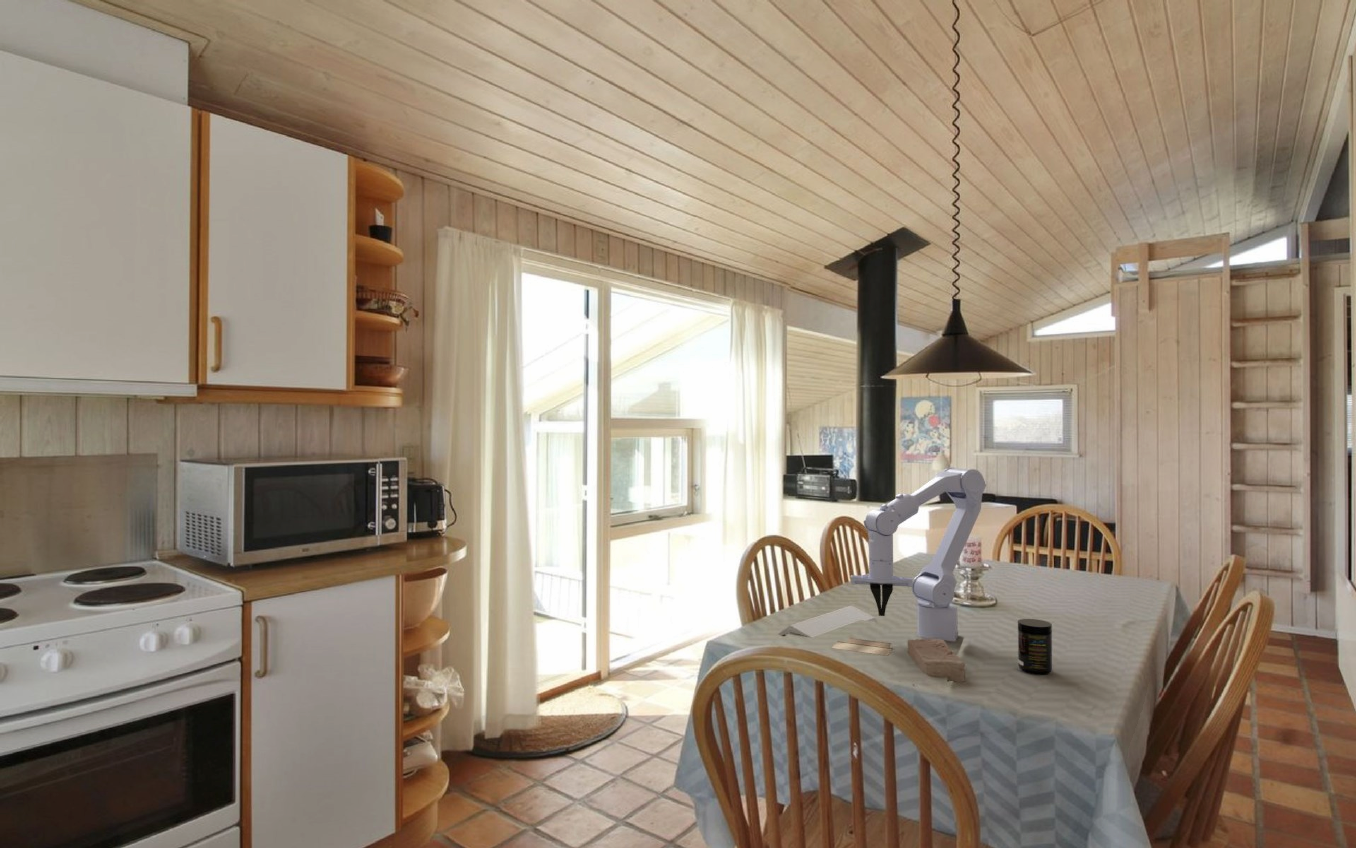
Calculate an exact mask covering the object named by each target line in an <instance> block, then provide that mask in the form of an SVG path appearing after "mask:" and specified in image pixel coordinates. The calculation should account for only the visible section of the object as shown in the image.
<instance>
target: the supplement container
mask: <svg viewBox="0 0 1356 848" xmlns="http://www.w3.org/2000/svg"><path fill="white" fill-rule="evenodd" d="M1017 649H1018V650H1017V657H1018V658H1017V664H1018V668H1019V669H1020V670H1021V671H1022V672H1024V673H1027V674H1031V675H1036V676H1046V675H1049V674H1051V673H1052V671H1053V623H1051V622H1050V621H1046V620H1042V619H1038V618H1021V619H1018V620H1017Z"/></svg>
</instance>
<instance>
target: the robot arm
mask: <svg viewBox="0 0 1356 848" xmlns="http://www.w3.org/2000/svg"><path fill="white" fill-rule="evenodd" d="M986 488H987V484H986V481H985V479H984V477H983V474H982V473H981V472H980V470H977V469H975V468H970V469H967V468H955V467H946V468H945V469H944V470H943V471H940V472H938V473H937V474H936V476H935V477H933V478H932V479H930V481H928V482H926V483H924V485H922V486H921V487H919V488H918V489H917V490H915V491H914V492H913V493H911V494H909V493H898V494H896V495H895V499H893V500H891V501H889V502H888V503H887V504H885V503H883V504H882V505H880V508H879V509H872V510H870V511H869V512H868V513H867V515H866V516H865V520H863V526H864V528H865V529H866V531H867V537H868V568H869V569H868V573H869V574H861V575H859V574H856V575H855V574H854V575H852V574H851V575H850V585H864V586H865V585H867V586H869V589H870V591H871V593H872V596H873V598H874V600H875V603H876V607H877V610H878V616H879V617H885V616H886V608H887V605H888V602H889V600H890V597H891V595H892V594H893V590H894V588H893V587H907V588H911V592H912V595H913V596H914V597H915V599H916V602H917V636H919V637H920V638H921V639H940V640H944V641H945V642H946V641H947V642H956V641H957V638H958V637H959V629H958V628H959V627H958V623H959V622H958V620H959V619H958V607H956V606H951V605H950V604H951V603H952V602H953V601H954V598H955V590H956V585H957V583H958V581H957V579H956V577H955V574H954V570H955V569H956V566H957V564H958V562H959V560H960V557H961V555H962V553H963V550H964V549H965V547H966V544H967V542H968V540H969V537H970V535H971V533H972V530H973V528H974V526H975V524H976V521H977V519H978V517H979V515H980V513H981V509H982V500H983V494H984V492H985V490H986ZM944 493H946V494H947V496H949V498H950V499H951V500H952V502H953V504H954V506H955V510H954V511H953V514H952V516H951V519H949V520H950V521H949V522H948V525H947V526H946V529H945V531H944V534H943V536H942V538H941V541H940V543H939V545H938V547H937V549H936V552H935V554H934V556H933V558H932V561H931V562H930V563H929V564H927V565H925V566H923V567H922V568H921V571H920V572H919V574H917V576H916V575H915V577H914V578H913V577H905V576H897V575H896V576H895V575H894V534H895V533H896V532H897V531H898V528H899V526H900V525H901V524H903V523H904V522H906V521H907V520H908V519H911V518H912V517H914V516H915V515H917V514H918V513H919V510H920V509H919V507H920V506H922V505H925V503H927V502H929V501H931V500H932V499H935V498H936V497H938V496H940V495H942V494H944Z"/></svg>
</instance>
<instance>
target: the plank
mask: <svg viewBox="0 0 1356 848" xmlns="http://www.w3.org/2000/svg"><path fill="white" fill-rule="evenodd" d="M846 642H852V643H860V644H867V645H875V646H883V647H891V645H892V643H891V642H886V641H875V640H869V639H861V638H852V637H850V638H849V639H848V640H847V641H846Z"/></svg>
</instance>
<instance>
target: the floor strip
mask: <svg viewBox="0 0 1356 848" xmlns="http://www.w3.org/2000/svg"><path fill="white" fill-rule="evenodd" d="M831 649H837V650H842V651H851V652H857V653H858V652H859V653H864V654H865V653H866V654H873V655H880V656H889V655H890V653H891V652H892V651H893V649H894V648H893V647H891V646H889V647H883V646H875V645H867V644H860V643H852V642H847V641H842V640H837V641H836V643H835V644H833V646H832V647H831Z"/></svg>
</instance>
